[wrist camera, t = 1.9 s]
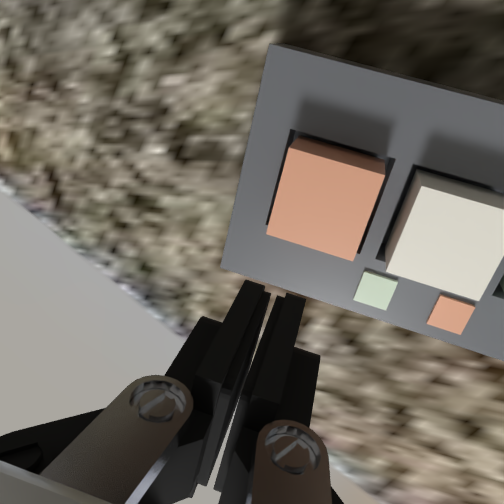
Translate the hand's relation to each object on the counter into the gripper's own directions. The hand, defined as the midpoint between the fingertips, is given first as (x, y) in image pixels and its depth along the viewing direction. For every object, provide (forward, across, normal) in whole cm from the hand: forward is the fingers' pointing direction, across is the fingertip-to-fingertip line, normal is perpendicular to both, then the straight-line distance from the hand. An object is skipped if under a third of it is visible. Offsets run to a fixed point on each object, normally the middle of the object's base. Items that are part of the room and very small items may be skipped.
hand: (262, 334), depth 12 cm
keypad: (+16, -7, 0) cm, 17 cm away
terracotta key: (+13, -1, 0) cm, 14 cm away
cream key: (+13, -7, 0) cm, 15 cm away
